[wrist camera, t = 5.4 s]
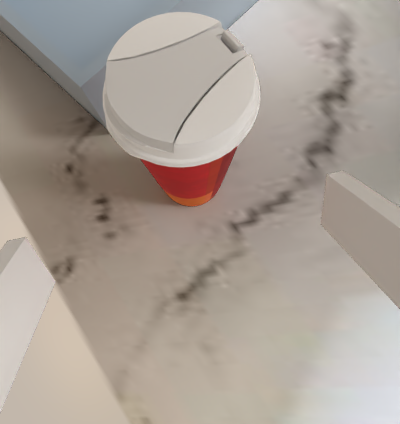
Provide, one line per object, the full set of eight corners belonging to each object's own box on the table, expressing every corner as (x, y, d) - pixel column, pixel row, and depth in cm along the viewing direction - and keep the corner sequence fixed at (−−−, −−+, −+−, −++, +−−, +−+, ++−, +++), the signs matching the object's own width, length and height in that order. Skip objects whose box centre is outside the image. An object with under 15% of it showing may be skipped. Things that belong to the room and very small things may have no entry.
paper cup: (199, 127, 26) (196, -25, 13) (248, 185, 25) (303, 87, 11) (134, 172, 25) (56, 61, 12) (182, 235, 24) (155, 193, 10)
